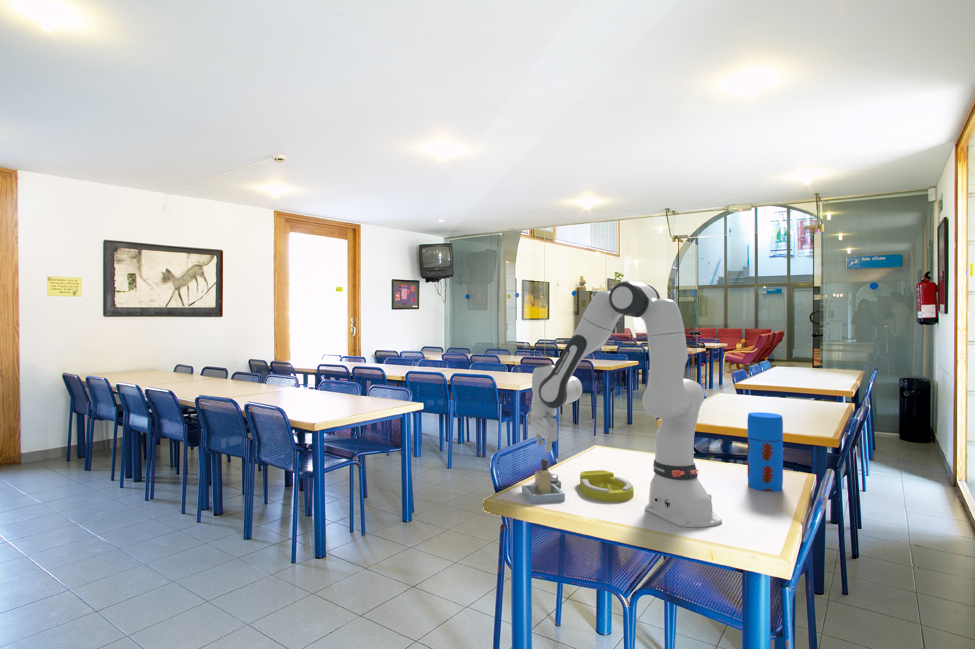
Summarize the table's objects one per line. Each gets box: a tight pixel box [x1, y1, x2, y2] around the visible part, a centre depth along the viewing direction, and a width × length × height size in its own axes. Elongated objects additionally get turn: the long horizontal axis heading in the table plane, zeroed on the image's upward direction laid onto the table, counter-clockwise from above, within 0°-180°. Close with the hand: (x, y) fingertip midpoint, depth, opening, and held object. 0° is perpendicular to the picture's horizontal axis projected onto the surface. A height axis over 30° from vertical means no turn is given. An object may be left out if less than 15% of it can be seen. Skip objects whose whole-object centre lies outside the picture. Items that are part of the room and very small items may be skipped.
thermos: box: [747, 411, 784, 493], centre depth 183 cm, size 11×11×25 cm
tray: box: [521, 484, 566, 504], centre depth 173 cm, size 11×11×3 cm
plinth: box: [551, 479, 562, 490], centre depth 182 cm, size 6×16×2 cm, turn 102°
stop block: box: [534, 470, 552, 495], centre depth 172 cm, size 4×4×8 cm
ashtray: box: [579, 469, 635, 503], centre depth 178 cm, size 16×21×5 cm
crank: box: [539, 458, 559, 483], centre depth 186 cm, size 11×4×6 cm, turn 12°
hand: (543, 448), depth 191 cm, fingers open, 8 cm apart
